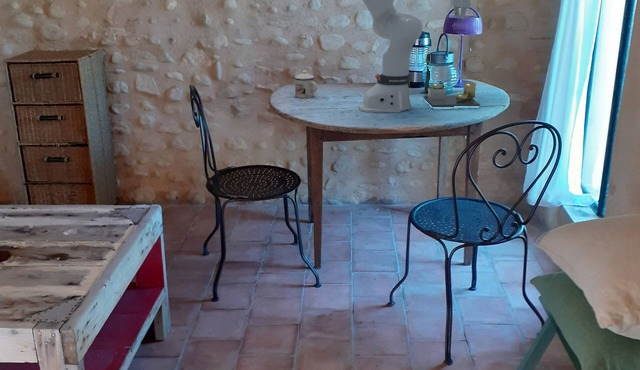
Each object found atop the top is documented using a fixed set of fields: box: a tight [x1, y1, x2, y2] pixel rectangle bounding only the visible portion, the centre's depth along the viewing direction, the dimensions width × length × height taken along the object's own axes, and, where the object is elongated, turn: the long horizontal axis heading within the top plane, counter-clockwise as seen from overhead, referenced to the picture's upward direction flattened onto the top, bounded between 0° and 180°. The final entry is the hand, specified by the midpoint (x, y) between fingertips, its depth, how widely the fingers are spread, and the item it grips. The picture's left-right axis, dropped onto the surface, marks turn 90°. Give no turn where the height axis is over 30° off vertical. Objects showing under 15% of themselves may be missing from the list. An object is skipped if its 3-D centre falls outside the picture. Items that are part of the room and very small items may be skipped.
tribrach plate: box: [423, 84, 481, 107], centre depth 281 cm, size 20×18×8 cm
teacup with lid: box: [294, 70, 318, 99], centre depth 297 cm, size 12×9×12 cm
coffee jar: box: [424, 52, 432, 92], centre depth 302 cm, size 10×8×19 cm
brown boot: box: [455, 81, 477, 101], centre depth 280 cm, size 11×5×6 cm, turn 136°
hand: (459, 17), depth 282 cm, fingers open, 8 cm apart
